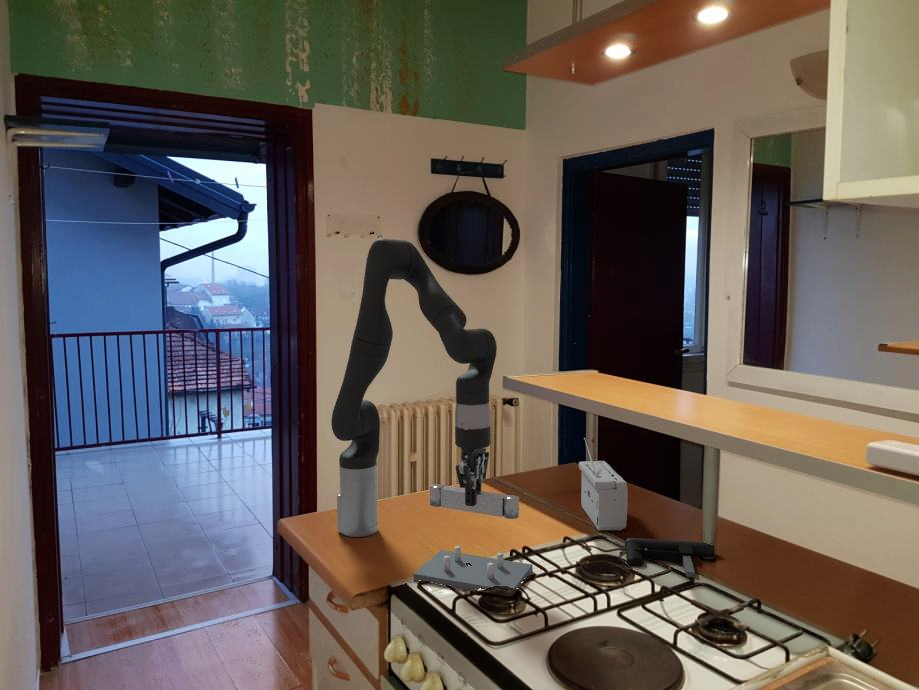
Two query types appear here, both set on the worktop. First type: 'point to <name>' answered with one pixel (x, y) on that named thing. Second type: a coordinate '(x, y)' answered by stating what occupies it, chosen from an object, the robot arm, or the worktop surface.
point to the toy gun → (666, 552)
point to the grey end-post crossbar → (484, 501)
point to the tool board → (472, 571)
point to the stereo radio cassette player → (603, 495)
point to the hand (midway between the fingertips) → (473, 503)
